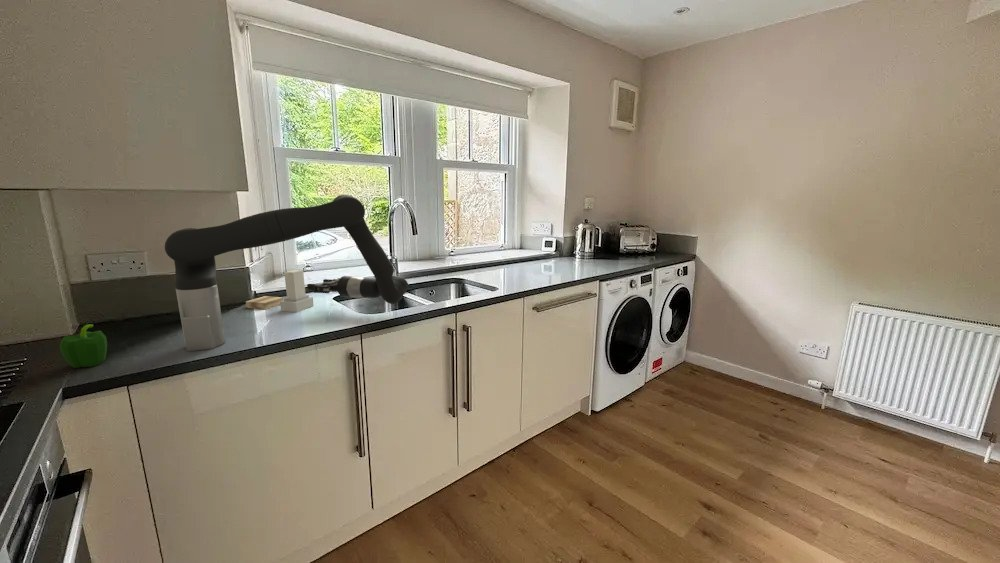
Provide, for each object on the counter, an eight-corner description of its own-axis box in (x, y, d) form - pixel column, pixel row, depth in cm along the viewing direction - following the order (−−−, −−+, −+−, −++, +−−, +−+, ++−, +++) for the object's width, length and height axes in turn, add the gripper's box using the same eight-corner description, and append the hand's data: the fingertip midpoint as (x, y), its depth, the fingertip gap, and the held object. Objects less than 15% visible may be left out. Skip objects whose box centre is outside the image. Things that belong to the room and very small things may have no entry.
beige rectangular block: (296, 312, 146) (295, 300, 145) (281, 310, 148) (279, 299, 147) (313, 305, 154) (312, 294, 153) (298, 304, 156) (297, 293, 155)
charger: (296, 301, 147) (293, 272, 145) (287, 300, 148) (284, 272, 146) (305, 298, 152) (303, 270, 150) (297, 297, 153) (294, 269, 151)
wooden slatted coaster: (283, 303, 158) (283, 297, 157) (265, 309, 149) (264, 303, 149) (265, 301, 160) (264, 296, 159) (246, 307, 151) (245, 301, 151)
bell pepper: (79, 373, 94) (70, 333, 92) (57, 369, 97) (47, 330, 95) (121, 359, 102) (113, 323, 100) (99, 356, 105) (91, 320, 103)
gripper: (364, 273, 149) (327, 271, 153) (340, 280, 135) (301, 278, 139) (366, 292, 150) (329, 290, 154) (342, 301, 137) (303, 298, 141)
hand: (316, 284), depth 147 cm, fingers open, 8 cm apart
